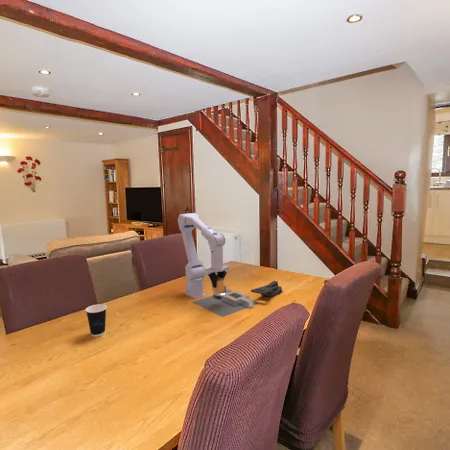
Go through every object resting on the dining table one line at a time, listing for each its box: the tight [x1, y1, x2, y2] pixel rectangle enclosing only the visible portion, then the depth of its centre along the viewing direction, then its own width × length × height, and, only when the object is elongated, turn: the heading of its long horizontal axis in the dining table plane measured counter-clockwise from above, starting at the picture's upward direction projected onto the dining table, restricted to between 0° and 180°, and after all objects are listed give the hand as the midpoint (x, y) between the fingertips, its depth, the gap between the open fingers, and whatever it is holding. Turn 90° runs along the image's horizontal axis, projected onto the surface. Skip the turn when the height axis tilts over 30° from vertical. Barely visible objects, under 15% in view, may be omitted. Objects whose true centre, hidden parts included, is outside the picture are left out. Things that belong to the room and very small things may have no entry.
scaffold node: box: [212, 285, 254, 309], centre depth 163 cm, size 26×10×5 cm, turn 41°
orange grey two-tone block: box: [211, 276, 225, 293], centre depth 156 cm, size 5×3×7 cm, turn 40°
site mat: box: [191, 294, 260, 318], centre depth 160 cm, size 24×24×1 cm
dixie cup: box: [84, 303, 108, 338], centre depth 129 cm, size 8×8×11 cm
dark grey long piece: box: [250, 280, 283, 298], centre depth 169 cm, size 9×7×25 cm
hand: (217, 286), depth 156 cm, fingers closed on orange grey two-tone block, 3 cm apart
